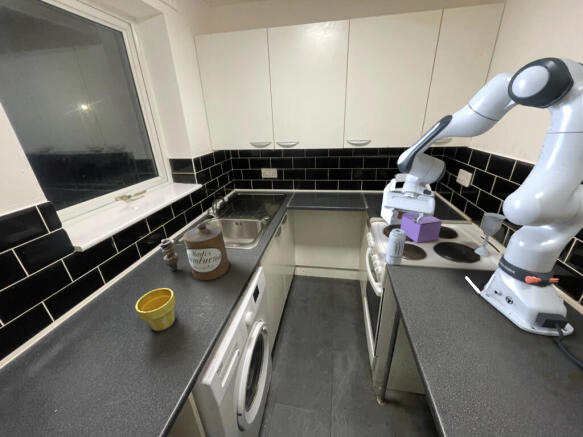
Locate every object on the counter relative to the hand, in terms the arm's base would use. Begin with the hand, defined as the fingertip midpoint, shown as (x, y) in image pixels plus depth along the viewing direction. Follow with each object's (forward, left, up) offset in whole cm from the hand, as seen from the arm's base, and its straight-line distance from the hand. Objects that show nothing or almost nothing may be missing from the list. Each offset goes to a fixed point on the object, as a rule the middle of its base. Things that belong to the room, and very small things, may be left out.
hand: (403, 220), depth 99 cm
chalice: (+1, -36, -16) cm, 40 cm away
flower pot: (-45, +87, -16) cm, 99 cm away
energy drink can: (-8, +5, -16) cm, 19 cm away
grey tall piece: (-18, +99, -16) cm, 102 cm away
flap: (+14, -16, -6) cm, 22 cm away
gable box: (+37, -14, -16) cm, 43 cm away
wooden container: (-17, +83, -16) cm, 86 cm away
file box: (+17, -15, -16) cm, 28 cm away
